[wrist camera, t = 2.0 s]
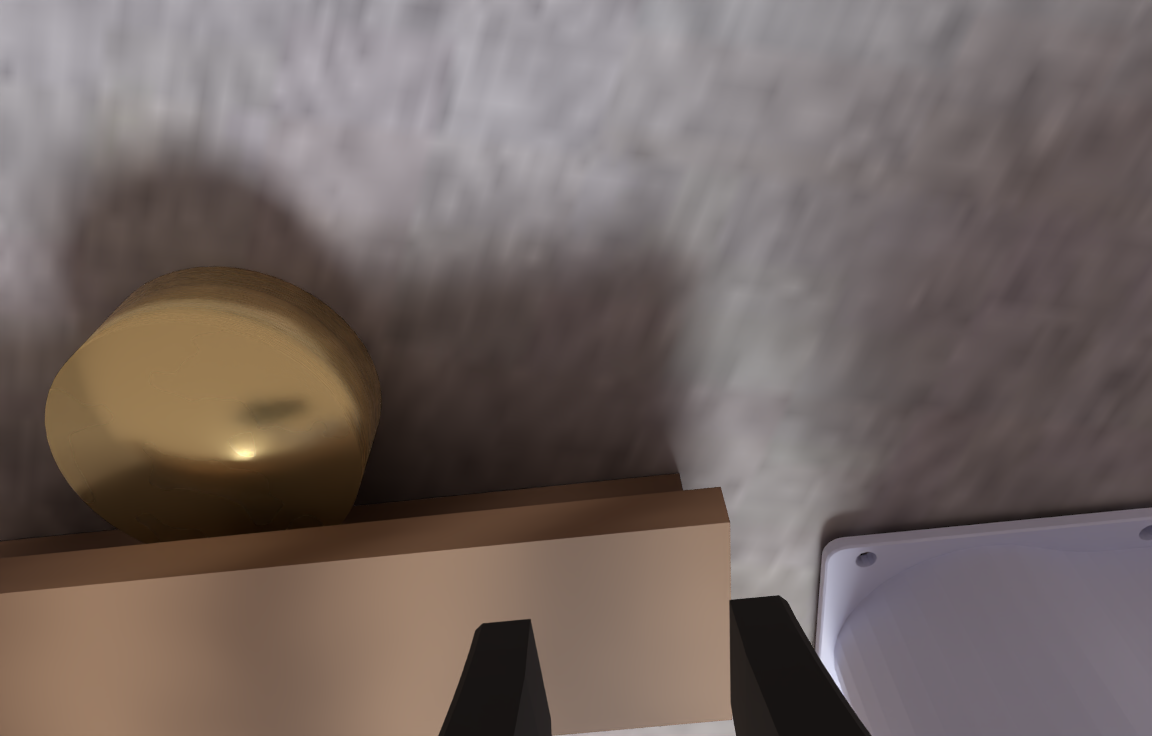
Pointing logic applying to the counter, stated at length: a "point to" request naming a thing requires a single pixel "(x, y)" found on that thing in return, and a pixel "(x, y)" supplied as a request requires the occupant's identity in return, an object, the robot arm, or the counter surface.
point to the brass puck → (216, 409)
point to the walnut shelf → (375, 617)
